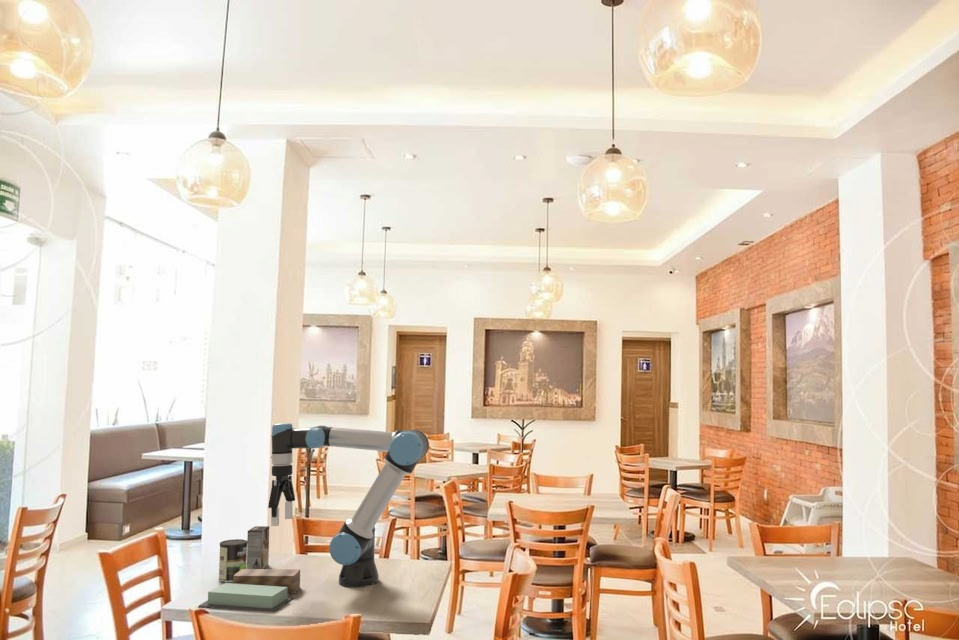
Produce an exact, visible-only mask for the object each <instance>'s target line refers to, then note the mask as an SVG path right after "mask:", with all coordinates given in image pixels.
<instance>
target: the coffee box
mask: <svg viewBox="0 0 959 640" xmlns="http://www.w3.org/2000/svg"><path fill="white" fill-rule="evenodd" d="M246 540H247V560H246V569H266V567H268V566H269V555H270V554H269V551H270V550H269V549H270V526H269V525H268V526H267V525H266V526H262V525H261V526H260V525H259V526H256V525H255V526H253V527H252V528H250V529H248V530H247V539H246Z"/></svg>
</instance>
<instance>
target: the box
mask: <svg viewBox="0 0 959 640" xmlns="http://www.w3.org/2000/svg"><path fill="white" fill-rule="evenodd" d="M232 583H234V584H249V585H264V586H279V587H288V591H287V596H294V595H296V593H297V592H298V591H299V589H301V569H299V568H298V569H297V568H296V569H294V568H289V569H288V568H286V569H285V568H284V569H283V568H280V569H279V568H278V569H277V568H272V569H271V568H268V569H267V568H264V569H247V568H246V569H241V570H240V571H239V572H237V573H236V574H235V575H233V582H232ZM296 591H297V592H296ZM295 592H296V593H295Z"/></svg>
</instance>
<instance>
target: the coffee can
mask: <svg viewBox="0 0 959 640" xmlns="http://www.w3.org/2000/svg"><path fill="white" fill-rule="evenodd" d="M218 561H219V563H218V566H219V567H218V581H219V580H220V581H219V582H221V581H227V582H226V583H233V575H235V574H236V573H237V572H239V571H240V570H241V569H247V539H239V538H237V539H235V538H234V539H227V540H222V541H220V542H219V560H218Z"/></svg>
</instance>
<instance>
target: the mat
mask: <svg viewBox="0 0 959 640" xmlns="http://www.w3.org/2000/svg"><path fill="white" fill-rule="evenodd" d="M293 599H295V596H293V595H287V599H286V600H285V601H283V602H281V603H280V604H278V605H277V606H275V607H274V608H258V607H244V606H230V605H216V604H208V599H207V600H206V601H204V602H202V603H201V604H199V605H198V606H199V607H198V608H202V609H204V607H206V608H207V609H209V608H208V607H214V608H213V609H219V608H229V609H228V610H239V611H240V610H241V611H259V612H260V611H261V612H274V613H275V612H277V611H278V610H281V608H283V607H284V606H286V605H287V604H288V603H290V602H291V601H293ZM206 608H205V609H206Z"/></svg>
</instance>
